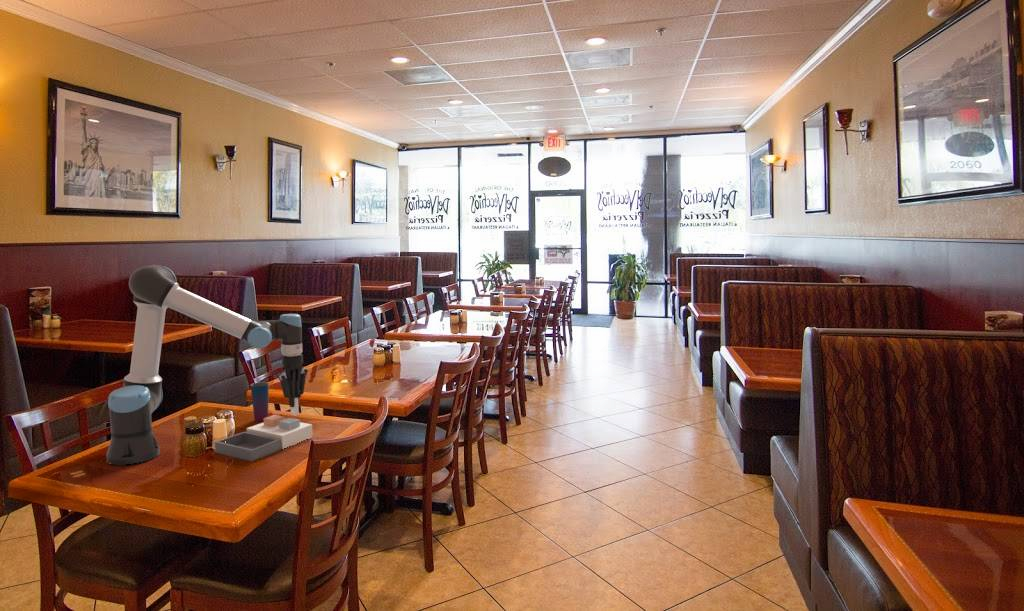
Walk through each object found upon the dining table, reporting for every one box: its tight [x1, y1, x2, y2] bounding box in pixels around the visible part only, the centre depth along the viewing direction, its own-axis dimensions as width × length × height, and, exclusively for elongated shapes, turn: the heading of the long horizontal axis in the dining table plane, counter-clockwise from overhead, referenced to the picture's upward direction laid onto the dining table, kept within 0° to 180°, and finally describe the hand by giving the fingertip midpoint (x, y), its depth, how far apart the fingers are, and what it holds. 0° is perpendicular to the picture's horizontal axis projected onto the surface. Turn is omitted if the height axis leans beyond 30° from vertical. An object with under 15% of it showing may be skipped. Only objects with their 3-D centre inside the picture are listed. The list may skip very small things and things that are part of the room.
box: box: [214, 431, 282, 463], centre depth 203 cm, size 18×12×4 cm, turn 64°
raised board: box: [246, 418, 314, 450], centre depth 216 cm, size 18×14×5 cm
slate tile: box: [279, 417, 301, 430], centre depth 214 cm, size 5×5×2 cm
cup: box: [250, 381, 270, 422], centre depth 238 cm, size 7×7×15 cm
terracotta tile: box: [263, 414, 285, 427], centre depth 218 cm, size 5×5×2 cm
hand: (294, 414), depth 227 cm, fingers closed
